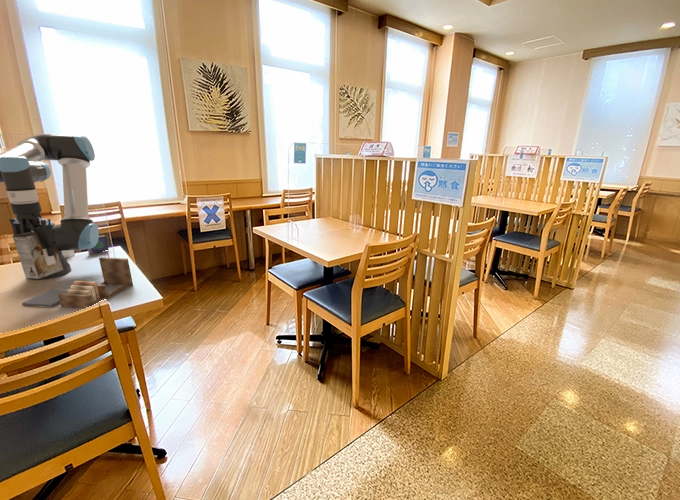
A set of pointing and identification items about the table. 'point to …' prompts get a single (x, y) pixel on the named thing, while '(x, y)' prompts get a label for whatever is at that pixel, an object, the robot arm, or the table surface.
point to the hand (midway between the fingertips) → (42, 263)
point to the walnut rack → (113, 274)
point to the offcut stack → (85, 289)
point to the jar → (68, 253)
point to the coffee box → (35, 256)
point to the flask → (99, 246)
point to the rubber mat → (45, 299)
